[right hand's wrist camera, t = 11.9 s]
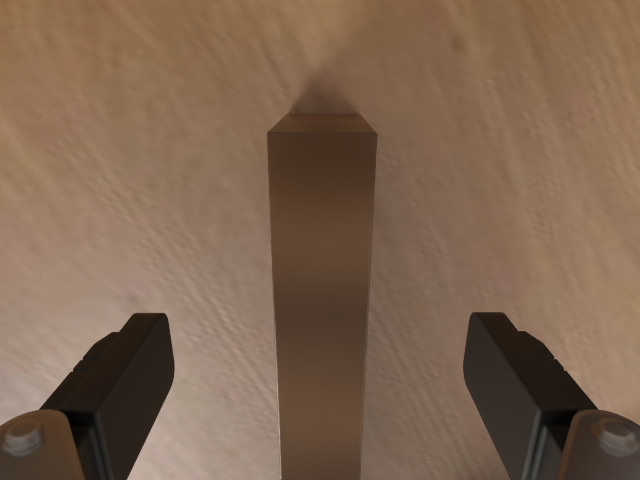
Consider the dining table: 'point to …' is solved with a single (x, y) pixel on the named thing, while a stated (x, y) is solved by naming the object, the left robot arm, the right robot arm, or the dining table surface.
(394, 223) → the dining table surface
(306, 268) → the post
